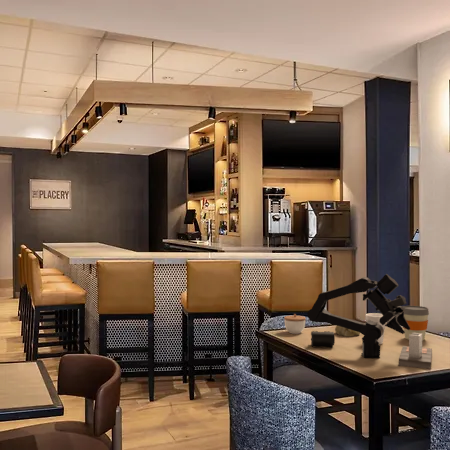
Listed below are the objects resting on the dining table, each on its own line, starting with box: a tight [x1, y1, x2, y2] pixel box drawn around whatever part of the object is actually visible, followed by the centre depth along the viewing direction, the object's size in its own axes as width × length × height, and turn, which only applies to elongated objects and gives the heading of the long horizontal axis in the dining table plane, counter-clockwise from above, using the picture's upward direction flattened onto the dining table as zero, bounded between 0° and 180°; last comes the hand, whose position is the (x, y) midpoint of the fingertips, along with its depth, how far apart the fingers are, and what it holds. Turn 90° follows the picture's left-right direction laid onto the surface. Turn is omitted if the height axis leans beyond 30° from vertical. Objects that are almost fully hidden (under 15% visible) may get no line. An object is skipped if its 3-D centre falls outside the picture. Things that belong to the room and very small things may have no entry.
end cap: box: [310, 330, 336, 348], centre depth 250 cm, size 10×7×7 cm
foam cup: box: [365, 312, 386, 345], centre depth 257 cm, size 10×9×13 cm
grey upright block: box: [408, 333, 423, 358], centre depth 222 cm, size 4×5×9 cm
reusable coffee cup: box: [402, 305, 430, 341], centre depth 266 cm, size 13×12×15 cm
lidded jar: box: [284, 313, 307, 335], centre depth 279 cm, size 11×11×9 cm
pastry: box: [334, 318, 361, 338], centre depth 276 cm, size 14×12×8 cm
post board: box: [398, 345, 433, 370], centre depth 227 cm, size 24×12×6 cm, turn 158°
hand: (406, 331), depth 224 cm, fingers open, 9 cm apart
